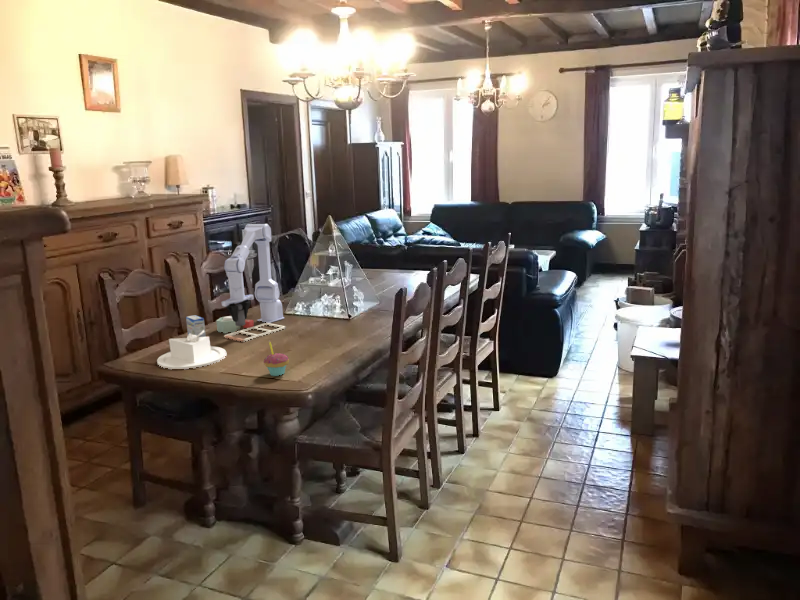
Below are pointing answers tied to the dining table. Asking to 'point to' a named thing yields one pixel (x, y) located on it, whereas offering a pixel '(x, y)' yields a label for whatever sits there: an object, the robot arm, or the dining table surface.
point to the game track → (254, 334)
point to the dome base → (226, 326)
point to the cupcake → (276, 362)
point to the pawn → (240, 316)
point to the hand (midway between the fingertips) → (239, 320)
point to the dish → (191, 353)
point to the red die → (248, 324)
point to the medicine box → (195, 325)
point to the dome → (227, 318)
